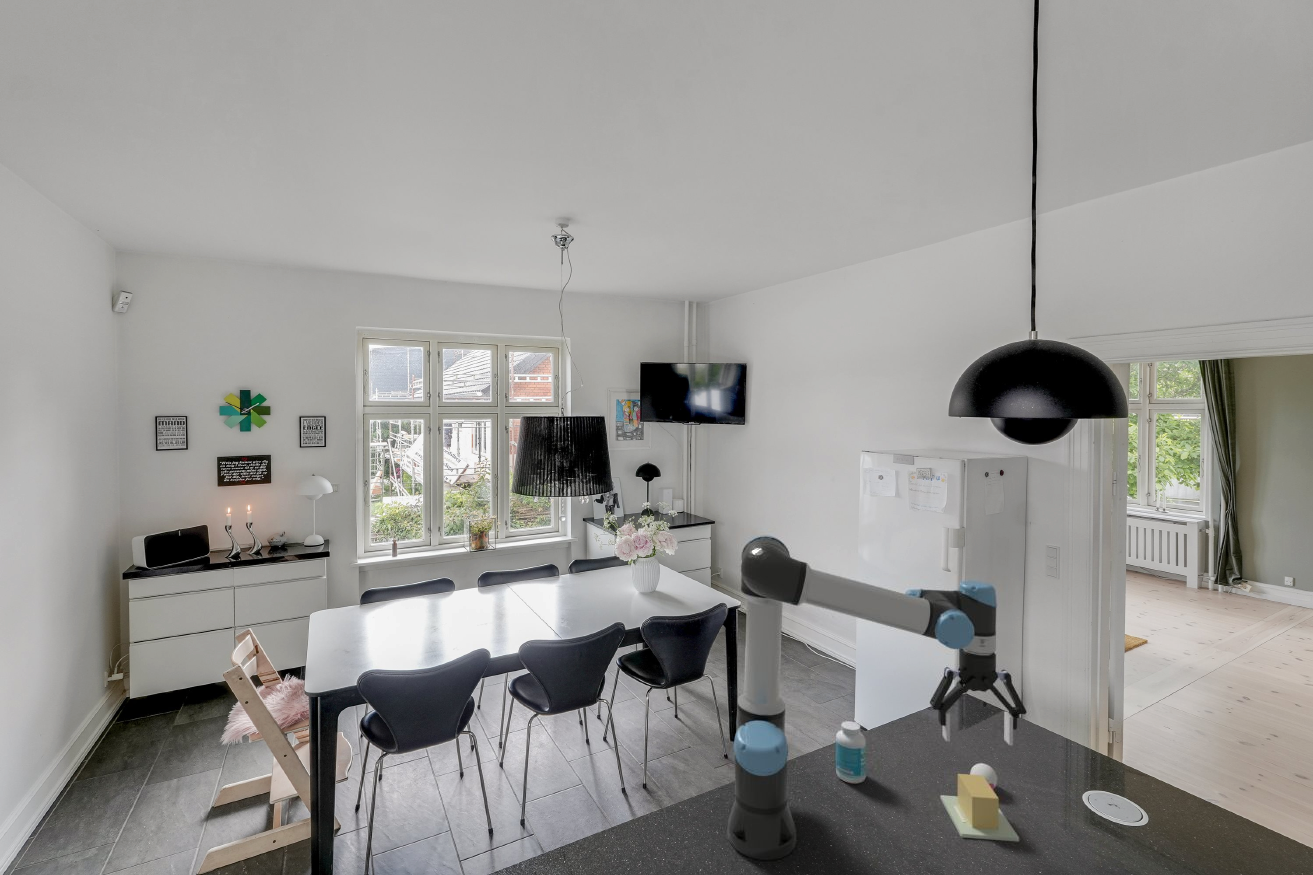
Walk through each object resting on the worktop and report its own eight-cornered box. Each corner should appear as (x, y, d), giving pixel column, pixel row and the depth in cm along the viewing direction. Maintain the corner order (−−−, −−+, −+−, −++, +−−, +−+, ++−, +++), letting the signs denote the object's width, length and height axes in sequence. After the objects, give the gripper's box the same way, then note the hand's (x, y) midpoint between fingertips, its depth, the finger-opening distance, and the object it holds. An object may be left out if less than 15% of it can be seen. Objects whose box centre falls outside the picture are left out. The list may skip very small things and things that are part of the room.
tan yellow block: (972, 827, 136) (972, 796, 136) (957, 802, 145) (957, 773, 145) (998, 829, 135) (998, 798, 135) (982, 804, 144) (982, 775, 144)
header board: (961, 836, 134) (961, 816, 134) (940, 798, 148) (940, 779, 148) (1019, 841, 132) (1019, 820, 132) (992, 801, 146) (992, 783, 146)
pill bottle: (867, 786, 153) (867, 733, 153) (837, 783, 154) (837, 731, 154) (863, 769, 160) (863, 719, 160) (834, 766, 162) (834, 717, 162)
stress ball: (973, 791, 156) (956, 767, 157) (1002, 778, 153) (985, 754, 155) (977, 807, 149) (960, 782, 150) (1007, 794, 146) (989, 768, 148)
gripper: (925, 653, 137) (925, 745, 138) (1043, 658, 134) (1043, 752, 134) (916, 641, 145) (916, 728, 145) (1027, 645, 141) (1027, 735, 142)
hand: (977, 740), depth 140 cm, fingers open, 13 cm apart
